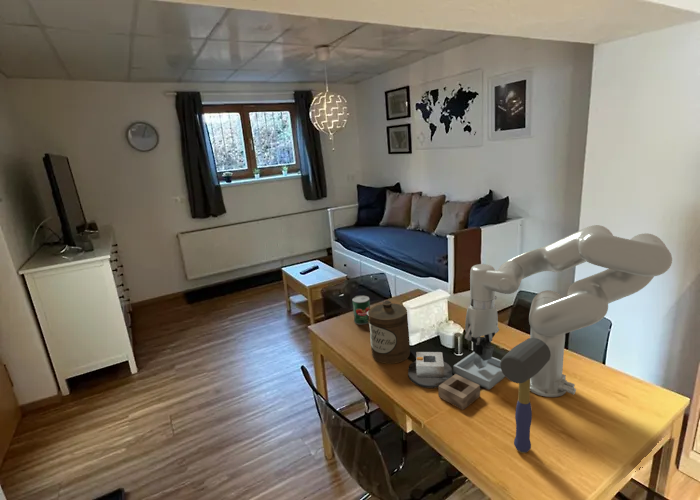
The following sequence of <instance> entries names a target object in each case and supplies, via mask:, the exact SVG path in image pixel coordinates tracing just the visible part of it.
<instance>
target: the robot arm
mask: <svg viewBox="0 0 700 500" xmlns="http://www.w3.org/2000/svg"><path fill="white" fill-rule="evenodd" d="M586 262H587V263H588V264H591V265H594V266H598V267H601V268H605V270H603V271H600V272H598V273H595V274H592V275H589V276H586V277H584V278H582V279H579V280H575V281H574V282H573V283H571V284H570V285H569V287H568V290H567V292H566V293H567V294H566V295H567V296H564V297H563V296H562V295H561V293H559V292H556V291H554V290H542V291H540V292H538V293H537V294H536V295H535V296H534V297H533V299H532V301H531V305H530V308H529V315H528V322H529V323H528V324H529V325H530V335H529V338H537V339H540V340H542V341H543V342H544V343H546V345H547V346H548V347H549V349H550V353H551V356H550V360H549V361H548V362H547V363H546V365H545V366H544V367H543V368H542V369H541V370H540V371H539V372H538V373H537V374H536V375H534V376H533V377H532V378H530V393H534V394H535V395H538V396H541V397H542V396H543V397H546V398H557V397H561V396H563V395H565V394H566V393H568V394H571V395H575V394H576V391H577V388H575V385H576V384H575V383H572V382H569V381H568V380H567V379H566V374H563V368H564V355H565V353H564V352H565V346H566V345H565V342H566V334H568V333H571V332H572V333H573V332H575V331H577V330H581V329H584V328H588V327H589V326H593V325H595V324H597V323H598V322H600V321H602V320H603V319H604V318H605V316H606V315H607V313H608V310H609V304H610V303H614V302H615V301H619V300H621V299H623V298H626V297H629V296H632V295H634V294H635V293H638V292H639V291H641V290H642V289H644V288H646V286H647V285H649V284H650V283H651V281H652V280H653V278H654V277H658V276H660V275H663V274H665V273H666V272H667V271H669V270H670V268H671V266H672V264H673V257H672V253H671V251H670V249H668V247H667V246H666V244H665V242H664V241H663V239H661V238H660V237H659V236H657V235H654V234H653V233H646V232H645V233H640V234H637V235H634V236H633V237H631V238H630V239H628V238H624V237H620V236H615V235H614V234H613V233H612V232H611V231H610V229H608V228H607V227H605V226H604V225H600V224H594V225H590V226H587V227H585V228H582V229H580V230H577V231H575V232H574V233H571V234H570V235H567V236H565V237H562V238H561V239H558V240H556V241H554V242H552V243H550V244H547V245H545V246H542V247H538V248H535V249H533V250H529V251H526V252H524V253H522V254H519V255H517V256H515V257H513V258H510V259H508V260H507V261H505V262H504V263H502V264H501V265H500V266H499V268H498V269H495V267H493V266H492V265H490V264H486V263H479V264H478V263H477V264H474V265H473V266H471V268H470V271H469V272H470V273H469V275H470V276H469V278H470V279H469V283H470V284H469V285H470V286H469V287H470V290H469V292H470V293H469V294H470V295H469V296H470V297H469V298H470V299H469V301H470V303H469V304H470V305H468V306H467V309H466V315H465V324H464V328H465V335H464V340H465V339H466V340H467V341H471V342H472V343H473V352H475V353H476V354H478V355H479V356H480V355H481V345H480V337H484V338H485V339H486V340H487V341H488V342H489V343H490V344H491V342H492V341H493V338H494V336H495V335H496V334H497V333H499V331H500V328H499V319H498V318H499V317H498V316H499V315H498V309H497V305H496V304H495V303H496V302H495V300H497V299H498V297H497V295H496V293H499V294H504V295H513V294H514V293H516V292H517V291H518V290H519V288H520V286H521V282H522V280H523V279H525V278H529V277H531V276H533V275H535V274H539V273H541V272H552V273H563V272H564V271H568V270H569V269H572V268H575V267H576V266H579V265H582V264H584V263H586ZM491 345H492V344H491Z"/></svg>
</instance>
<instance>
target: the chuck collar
mask: <svg viewBox="0 0 700 500" xmlns="http://www.w3.org/2000/svg"><path fill="white" fill-rule="evenodd" d="M415 353H416V355H415V359H416V360H415V361H416V371H417V377H444V363H443V361H444V357H443V352H441V351H416V352H415Z"/></svg>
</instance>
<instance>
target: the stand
mask: <svg viewBox="0 0 700 500" xmlns="http://www.w3.org/2000/svg"><path fill="white" fill-rule="evenodd" d="M437 389H438V398H440V399H442V400H444V401H445V402H447V403H449V404H451V405H453V406H454V407H456V408H459V409H460V410H461V411H463V410H466V408H468V407H469V406H470V405H472V404H473V403H474V402H475V401H476V400H477V399H479V398H480V397H481V386H480V385H478V384H476V383H474V382H472V381H470V380H468V379H466V378H463V377H461V376H459V375H457V374H454V375H453V374H452V377H450V378H449V379H448V380H446V381H445V382H443V383H442V384H441V385H439V386H438V388H437Z"/></svg>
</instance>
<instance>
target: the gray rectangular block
mask: <svg viewBox="0 0 700 500" xmlns="http://www.w3.org/2000/svg"><path fill="white" fill-rule="evenodd" d="M480 345H481V355H480V356H479V355H478V354H475V358H474V364H475V365H476V366H477V367H478V369H480V368H483V367H486V365H487V361H488V359H491V358H492V357H493V352H494V349H495V347H494V346H493V345H492V344H490V343H489V342H488V341H487V340H486V339H485V338H484V336H480Z"/></svg>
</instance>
